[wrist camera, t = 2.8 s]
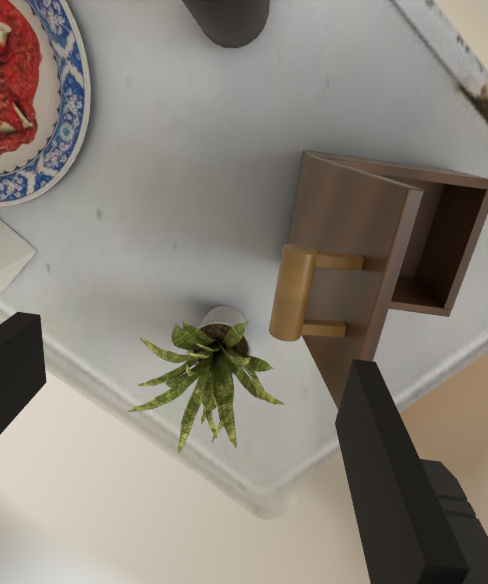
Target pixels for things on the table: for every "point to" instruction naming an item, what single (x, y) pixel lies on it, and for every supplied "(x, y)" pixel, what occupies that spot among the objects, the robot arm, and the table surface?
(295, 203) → the chest
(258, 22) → the bottle
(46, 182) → the ceramic plate
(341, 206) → the lid
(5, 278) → the milk carton
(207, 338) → the house plant
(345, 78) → the table surface
